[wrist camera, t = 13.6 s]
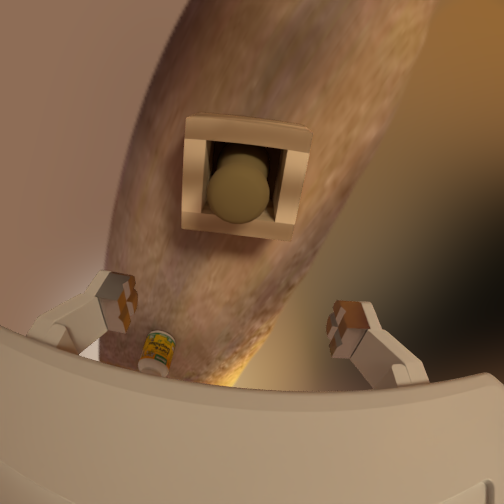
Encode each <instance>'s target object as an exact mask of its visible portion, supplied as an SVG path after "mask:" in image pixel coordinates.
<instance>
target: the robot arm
mask: <svg viewBox="0 0 504 504" xmlns="http://www.w3.org/2000/svg"><path fill="white" fill-rule="evenodd" d="M135 284H136V282H135V277H134V276H133V275H128V274H122V273H117V272H111V271H106V270H100V271H99V272H98V273H97V275H96V276H95V278H94V279H93V281H92V282H91V283H90V285H89V286H88V288H87V289H86V291H85V292H84V294H79V295H77V296H75V297H73V298H71V299H69V300H67V301H66V302H64V303H62V304H60V305H58V306H57V307H55V308H53V309H51V310H50V311H47V312H46V313H44V314H42V315H40V316H39V317H38V318H37V319H36V321H35V322H34V324H33V326H32V327H31V329H30V330H29V332H28V333H27V335H26V336H23V335H21V334H19V333H16V332H14V331H12V330H9V329H7V328H5V327H3V326H1V325H0V504H504V385H503V384H502V383H501V382H500V381H498V380H497V379H496V378H495V377H494V376H492V375H491V374H490V373H480V374H476V375H472V376H467V377H463V378H458V379H452V380H447V381H441V382H436V383H430V382H429V380H428V377H427V375H426V372H425V369H424V367H423V364H422V362H421V361H420V360H419V359H418V358H417V357H416V356H414V355H413V354H412V353H411V352H410V351H408V350H407V349H406V348H405V347H404V346H403V345H402V344H401V343H399V342H398V341H397V340H396V339H395V338H394V337H392V336H391V335H390V334H389V333H388V332H387V331H386V330H382V328H381V326H380V323H379V321H378V318H377V316H376V313H375V311H374V308H373V306H372V304H371V303H370V302H355V301H341V300H337V301H336V302H335V303H334V306H333V310H334V312H333V313H332V314H330V315H329V317H328V320H327V325H326V332H327V337H328V338H329V339H330V340H331V342H330V344H329V347H330V352H331V357H332V358H350V359H351V361H352V362H353V364H354V365H355V366H356V367H357V368H358V370H359V371H360V372H361V374H362V375H363V376H364V377H365V379H366V380H367V381H368V382H369V383H370V385H371V386H372V387H373V388H374V389H373V390H361V391H333V392H332V391H329V392H328V391H327V392H308V391H307V392H306V391H276V390H260V389H247V388H236V387H227V386H219V385H211V384H203V383H197V382H190V381H184V380H178V379H172V378H167V377H162V376H157V375H152V374H147V373H142V372H138V371H134V370H129V369H125V368H121V367H117V366H113V365H109V364H106V363H102V362H99V361H95V360H92V359H88V358H85V357H81V356H79V354H80V353H81V352H82V351H83V350H84V349H86V348H87V347H88V346H89V345H91V344H92V343H93V342H94V341H96V340H97V339H98V338H99V337H101V336H102V335H103V334H104V333H106V332H107V331H108V330H111V331H116V332H121V333H126V332H127V330H128V327H129V325H130V323H131V319H130V316H132V315H133V314H135V311H136V309H137V304H138V294H137V291H136V290H135V289H134V286H135Z"/></svg>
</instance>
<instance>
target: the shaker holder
mask: <svg viewBox="0 0 504 504" xmlns="http://www.w3.org/2000/svg"><path fill="white" fill-rule="evenodd" d="M312 137H313V132H312V131H310V130H309V129H308V128H307V127H305V126H304V125H301V124H295V123H289V122H283V121H276V120H270V119H262V118H255V117H246V116H237V115H227V114H215V113H200V112H199V113H197V114H194V115H191V116H189V117H186V125H185V139H184V156H183V179H182V223H181V229H188V230H197V231H206V232H215V233H223V234H232V235H240V236H248V237H257V238H265V239H273V240H281V241H289V242H291V239H292V234H293V230H294V225H295V221H296V216H297V212H298V207H299V202H300V197H301V193H302V188H303V183H304V178H305V173H306V168H307V163H308V158H309V153H310V148H311V142H312ZM215 141H222V142H232V143H241V144H250V145H258V146H265V147H272V148H279V149H281V152H280V158H279V164H278V170H277V176H276V182H275V188H274V194H273V200H271V199H269V201H268V204H267V206H266V209H265V210H264V211H263V212H262V214H261V215H260V216H259V217H258V218H256V219H255V220H253V221H251V222H248V223H244V224H232V223H228V222H225V221H223V220H222V219H220V218H219V217H217V216H216V215H215V214H214V212H213V211H212V210H211V208H210V206H209V203H208V201H207V187H208V184H209V181H210V179H211V176H212V164H213V153H214V142H215Z"/></svg>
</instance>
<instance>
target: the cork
mask: <svg viewBox="0 0 504 504" xmlns="http://www.w3.org/2000/svg"><path fill="white" fill-rule="evenodd" d="M269 171H270V159H269V156H268V154H267V152H266V151H265V149H264V148H263V147H262V146H258V145H250V144H241V143H232V142H231V143H229V144H228V145H227V146H225V147H224V148H223V150H222V151H221V152H220V154H219V157H218V160H217V171H216V172H215V173H214V175H213V176H212V177H211V179H210V181H209V184H208V187H207V201H208V203H209V206H210V208H211V210H212V211H213V212H214V214H215V215H216V216H217V217H219V218H220V219H222V220H223V221H225V222H228V223H232V224H244V223H248V222H251V221H253V220H255V219H256V218H258V217H259V216H260V215H261V214H262V212H263V211H264V210H265V209H266V206H267V204H268V201H269V187H268V183H267V180H266V179H267V176H268V174H269Z"/></svg>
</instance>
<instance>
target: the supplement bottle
mask: <svg viewBox="0 0 504 504" xmlns="http://www.w3.org/2000/svg"><path fill="white" fill-rule="evenodd" d="M174 348H175V340H174V338H173V337H172V336H171V335H170V334H168V333H166V332H164V331H159V330H157V331H152V332H150V333H149V334H148V335H147V338H146V341H145V344H144V347H143V350H142V353H141V356H140V359H139V362H138V368H139V370H140V372H142V373H147V374H152V375H157V376H162V377H166V376H167V375H168V373H169V368H170V364H171V360H172V356H173V352H174Z"/></svg>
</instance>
